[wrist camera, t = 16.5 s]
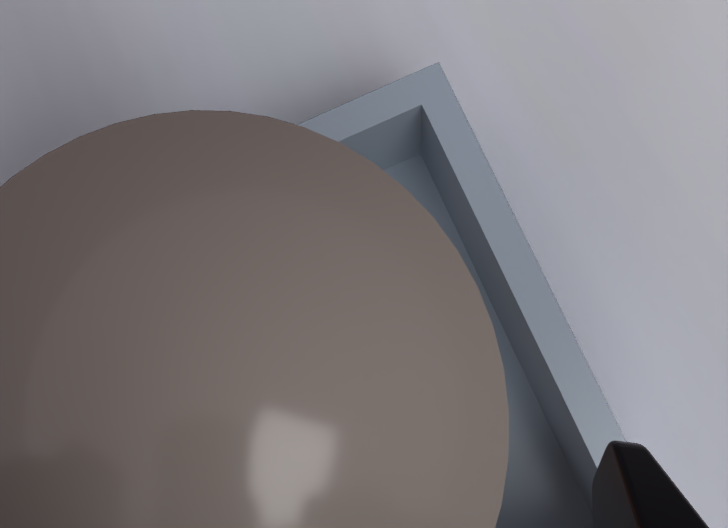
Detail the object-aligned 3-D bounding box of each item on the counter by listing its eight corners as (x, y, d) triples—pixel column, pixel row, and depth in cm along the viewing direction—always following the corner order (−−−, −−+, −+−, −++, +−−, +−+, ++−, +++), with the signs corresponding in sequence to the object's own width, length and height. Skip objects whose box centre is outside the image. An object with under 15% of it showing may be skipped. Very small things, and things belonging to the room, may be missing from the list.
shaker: (345, 517, 17) (167, 942, 4) (213, 379, 18) (-244, 419, 5) (478, 376, 17) (651, 411, 5) (342, 247, 18) (194, -4, 6)
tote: (-38, 824, 17) (-179, 968, 13) (-155, 387, 19) (-307, 393, 15) (630, 533, 17) (698, 586, 13) (433, 126, 19) (438, 61, 15)
